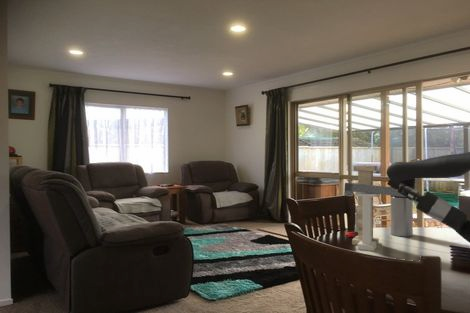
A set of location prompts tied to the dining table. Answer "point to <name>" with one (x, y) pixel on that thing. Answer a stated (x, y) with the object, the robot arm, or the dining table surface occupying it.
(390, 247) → the dining table surface
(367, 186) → the hook bar
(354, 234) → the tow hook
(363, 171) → the tall stand
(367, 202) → the rest post
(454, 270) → the dining table surface
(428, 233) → the dining table surface
